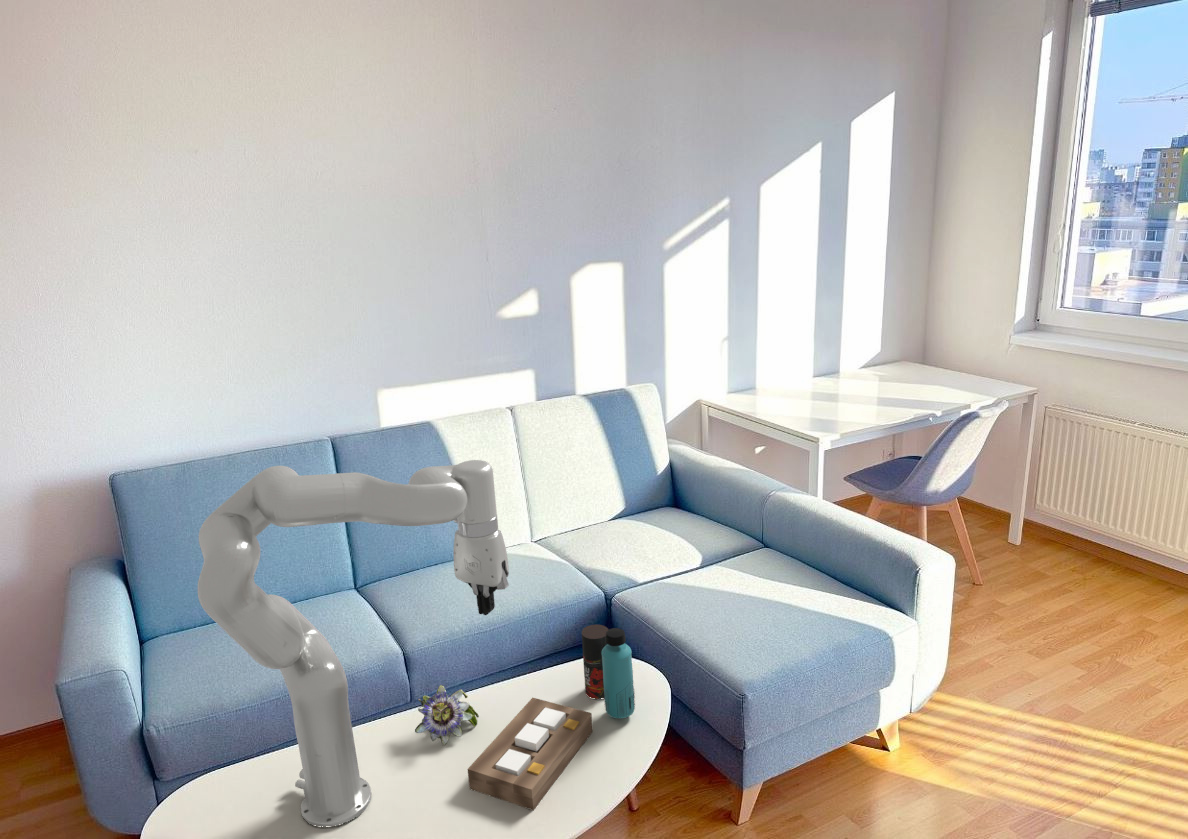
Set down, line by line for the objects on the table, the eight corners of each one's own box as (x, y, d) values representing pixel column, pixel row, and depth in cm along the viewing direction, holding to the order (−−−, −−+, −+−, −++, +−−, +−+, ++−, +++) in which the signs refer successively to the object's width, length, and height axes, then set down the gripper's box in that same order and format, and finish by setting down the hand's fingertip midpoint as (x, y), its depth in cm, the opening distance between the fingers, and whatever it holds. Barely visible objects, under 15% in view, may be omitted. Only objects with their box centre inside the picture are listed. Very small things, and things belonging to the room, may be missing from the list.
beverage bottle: (633, 726, 173) (629, 641, 167) (601, 724, 174) (596, 639, 168) (637, 707, 179) (634, 624, 173) (607, 705, 180) (602, 622, 175)
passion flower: (448, 764, 173) (410, 737, 166) (440, 725, 182) (404, 699, 176) (490, 731, 172) (454, 703, 166) (480, 693, 182) (445, 666, 175)
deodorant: (617, 688, 186) (613, 628, 182) (603, 702, 181) (599, 641, 177) (594, 680, 189) (590, 622, 185) (580, 694, 184) (576, 634, 180)
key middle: (515, 745, 163) (514, 737, 162) (528, 730, 167) (527, 723, 166) (536, 751, 160) (536, 743, 160) (548, 736, 164) (548, 728, 164)
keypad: (469, 789, 158) (467, 767, 156) (534, 715, 178) (532, 696, 177) (533, 810, 151) (531, 788, 150) (592, 731, 172) (591, 711, 170)
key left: (496, 772, 157) (495, 764, 156) (509, 756, 161) (509, 748, 160) (518, 779, 155) (517, 771, 154) (531, 763, 159) (530, 755, 158)
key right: (534, 728, 169) (533, 720, 168) (545, 714, 173) (545, 707, 172) (554, 734, 167) (554, 726, 166) (566, 720, 171) (565, 712, 170)
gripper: (434, 527, 158) (444, 613, 164) (500, 538, 152) (508, 628, 157) (457, 512, 165) (466, 596, 170) (521, 522, 158) (529, 609, 163)
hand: (486, 611), depth 163 cm, fingers closed
